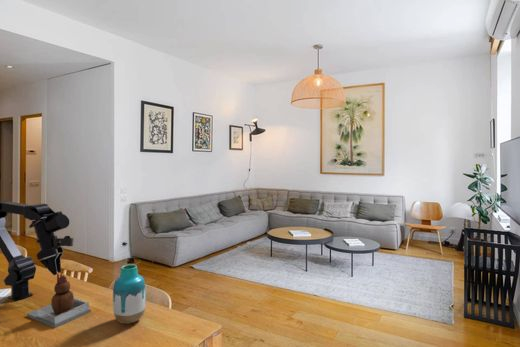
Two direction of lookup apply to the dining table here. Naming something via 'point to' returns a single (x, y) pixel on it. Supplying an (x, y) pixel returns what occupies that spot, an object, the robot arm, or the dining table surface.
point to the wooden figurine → (62, 296)
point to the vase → (129, 295)
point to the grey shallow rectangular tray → (54, 320)
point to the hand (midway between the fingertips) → (57, 273)
